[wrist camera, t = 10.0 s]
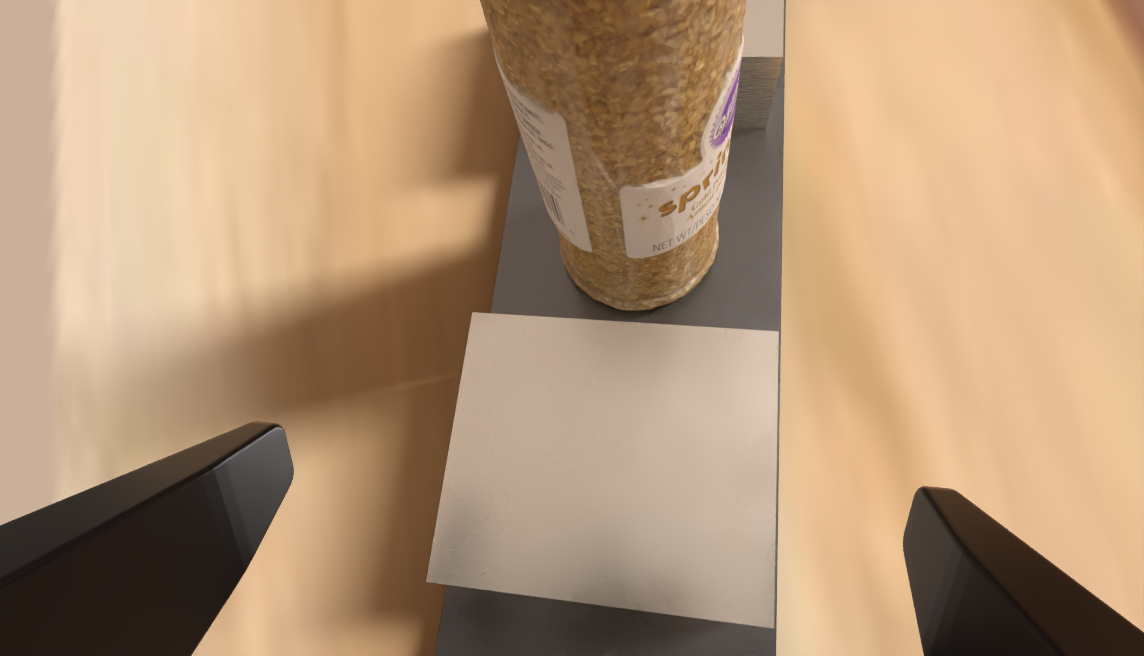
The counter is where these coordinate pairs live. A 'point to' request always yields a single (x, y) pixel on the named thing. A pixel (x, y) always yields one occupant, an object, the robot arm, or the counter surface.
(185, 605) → the robot arm
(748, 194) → the mounting plate
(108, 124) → the counter surface
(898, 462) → the counter surface
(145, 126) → the counter surface
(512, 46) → the sprinkles bottle
